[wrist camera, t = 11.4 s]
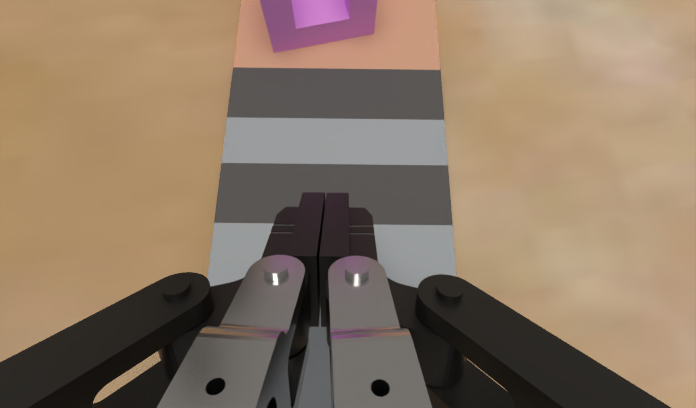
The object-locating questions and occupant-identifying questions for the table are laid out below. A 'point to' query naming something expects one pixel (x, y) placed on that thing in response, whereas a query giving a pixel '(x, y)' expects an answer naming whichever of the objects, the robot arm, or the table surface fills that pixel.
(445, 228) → the lane
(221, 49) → the table surface
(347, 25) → the bracket
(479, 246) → the table surface
